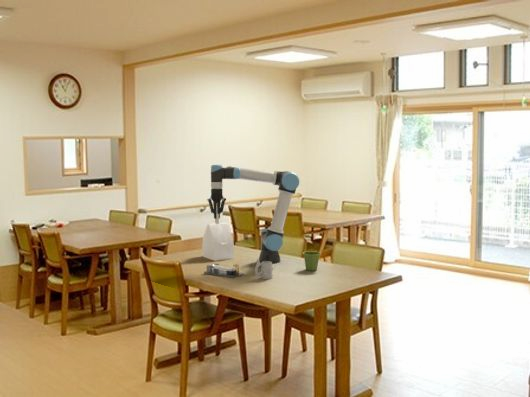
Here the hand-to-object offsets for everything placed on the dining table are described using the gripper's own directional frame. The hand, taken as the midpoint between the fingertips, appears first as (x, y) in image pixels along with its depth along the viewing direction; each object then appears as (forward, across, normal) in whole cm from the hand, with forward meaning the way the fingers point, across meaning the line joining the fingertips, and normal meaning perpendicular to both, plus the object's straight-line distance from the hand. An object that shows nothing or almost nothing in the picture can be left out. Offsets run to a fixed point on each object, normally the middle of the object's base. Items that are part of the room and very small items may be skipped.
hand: (216, 223), depth 405 cm
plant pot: (+30, -51, +37) cm, 70 cm away
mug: (+30, -12, +43) cm, 54 cm away
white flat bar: (+26, +5, +21) cm, 34 cm away
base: (+29, +5, +21) cm, 37 cm away
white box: (+30, -14, -30) cm, 45 cm away
